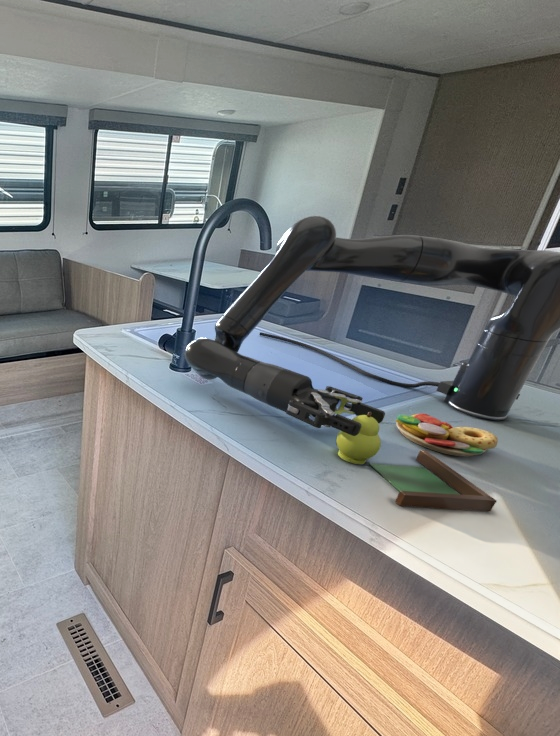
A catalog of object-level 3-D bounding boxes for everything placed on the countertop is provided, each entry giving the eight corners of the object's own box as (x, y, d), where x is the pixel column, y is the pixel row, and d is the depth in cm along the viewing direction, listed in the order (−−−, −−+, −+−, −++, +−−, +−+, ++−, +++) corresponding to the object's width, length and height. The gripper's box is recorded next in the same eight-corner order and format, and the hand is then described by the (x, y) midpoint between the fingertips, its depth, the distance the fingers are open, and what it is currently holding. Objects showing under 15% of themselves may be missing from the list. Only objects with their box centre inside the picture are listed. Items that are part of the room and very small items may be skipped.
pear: (322, 449, 75) (339, 404, 71) (350, 446, 76) (368, 402, 72) (352, 469, 69) (372, 422, 66) (381, 466, 71) (402, 419, 67)
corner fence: (345, 455, 73) (349, 445, 72) (421, 459, 73) (426, 450, 72) (399, 506, 61) (405, 495, 61) (490, 511, 61) (497, 500, 60)
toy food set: (501, 453, 76) (510, 438, 75) (460, 468, 71) (469, 451, 70) (418, 418, 87) (424, 404, 86) (378, 429, 82) (384, 414, 81)
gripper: (260, 375, 76) (359, 413, 64) (302, 362, 84) (398, 394, 71) (249, 412, 79) (342, 455, 67) (291, 396, 87) (382, 433, 74)
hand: (371, 424), depth 69 cm, fingers open, 8 cm apart
